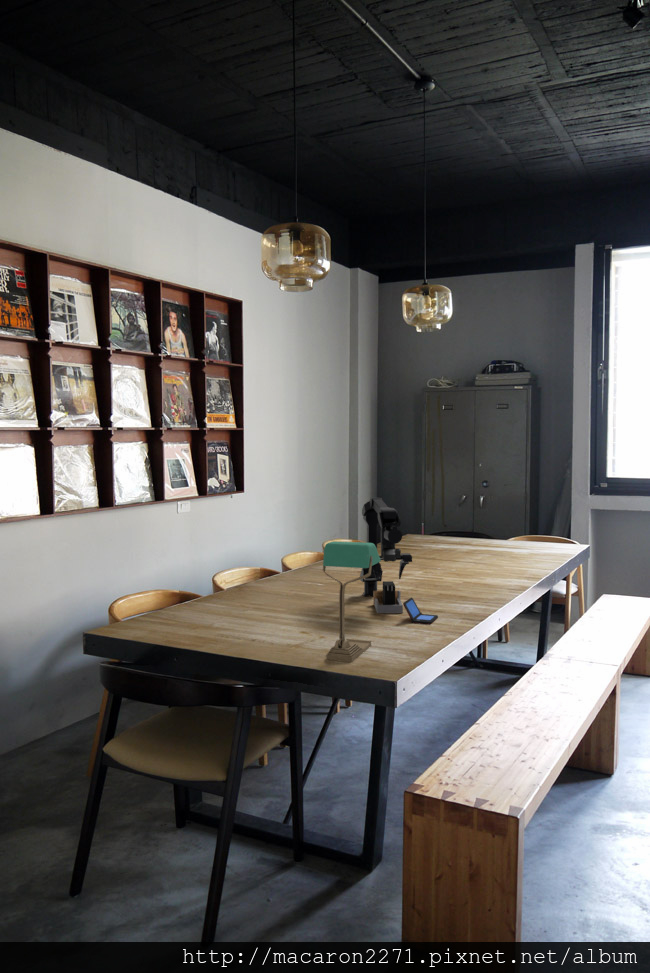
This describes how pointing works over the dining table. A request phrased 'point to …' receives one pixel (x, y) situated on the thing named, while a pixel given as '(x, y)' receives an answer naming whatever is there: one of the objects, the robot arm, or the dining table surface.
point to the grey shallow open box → (389, 607)
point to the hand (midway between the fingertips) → (388, 579)
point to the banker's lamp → (344, 557)
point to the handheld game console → (418, 613)
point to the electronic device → (388, 593)
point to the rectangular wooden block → (380, 596)
